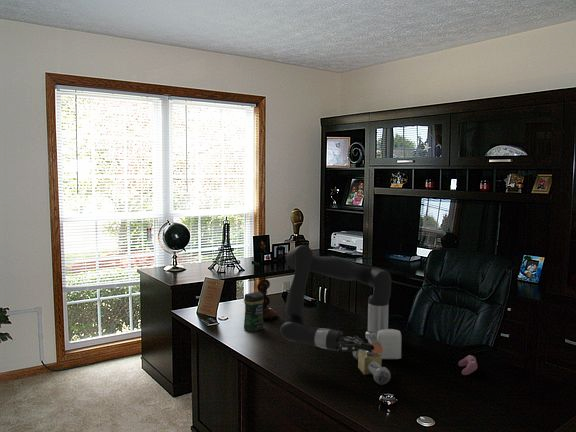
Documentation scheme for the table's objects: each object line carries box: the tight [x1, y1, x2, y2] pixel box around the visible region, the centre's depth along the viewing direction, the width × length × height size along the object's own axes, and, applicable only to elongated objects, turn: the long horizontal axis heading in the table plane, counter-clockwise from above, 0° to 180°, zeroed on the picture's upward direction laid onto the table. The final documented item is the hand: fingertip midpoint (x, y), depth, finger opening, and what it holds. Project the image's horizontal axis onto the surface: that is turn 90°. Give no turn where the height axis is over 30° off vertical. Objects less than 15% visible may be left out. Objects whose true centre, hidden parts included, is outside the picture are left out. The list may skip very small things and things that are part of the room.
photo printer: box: [377, 328, 402, 360], centre depth 203 cm, size 10×4×12 cm, turn 90°
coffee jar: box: [243, 290, 265, 333], centre depth 237 cm, size 10×8×19 cm
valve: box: [352, 340, 392, 386], centre depth 189 cm, size 24×7×13 cm, turn 12°
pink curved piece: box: [457, 354, 478, 376], centre depth 190 cm, size 10×5×7 cm, turn 169°
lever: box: [365, 330, 383, 353], centre depth 183 cm, size 17×4×2 cm, turn 2°
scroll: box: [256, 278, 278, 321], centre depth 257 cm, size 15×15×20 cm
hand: (371, 347), depth 177 cm, fingers closed
